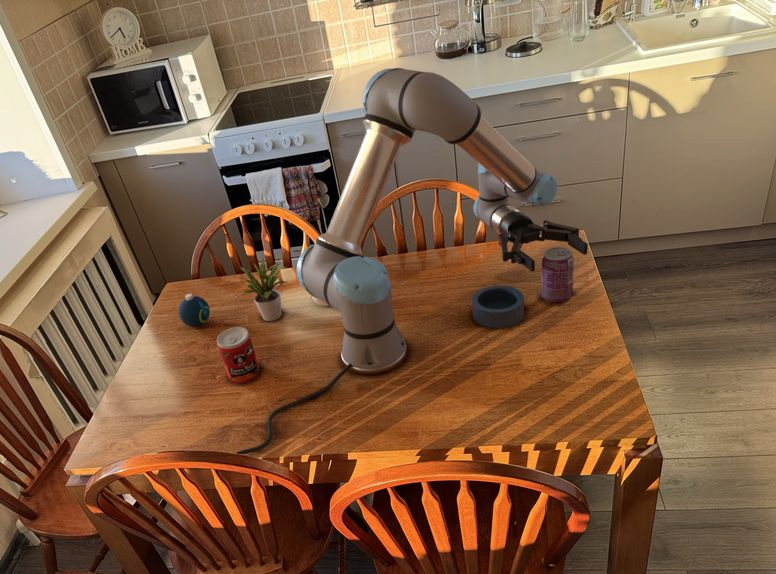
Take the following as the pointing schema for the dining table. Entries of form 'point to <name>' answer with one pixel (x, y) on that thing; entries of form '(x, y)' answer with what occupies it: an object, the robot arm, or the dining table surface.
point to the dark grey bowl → (498, 306)
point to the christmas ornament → (194, 311)
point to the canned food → (238, 354)
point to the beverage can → (557, 274)
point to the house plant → (266, 291)
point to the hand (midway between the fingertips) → (559, 257)
